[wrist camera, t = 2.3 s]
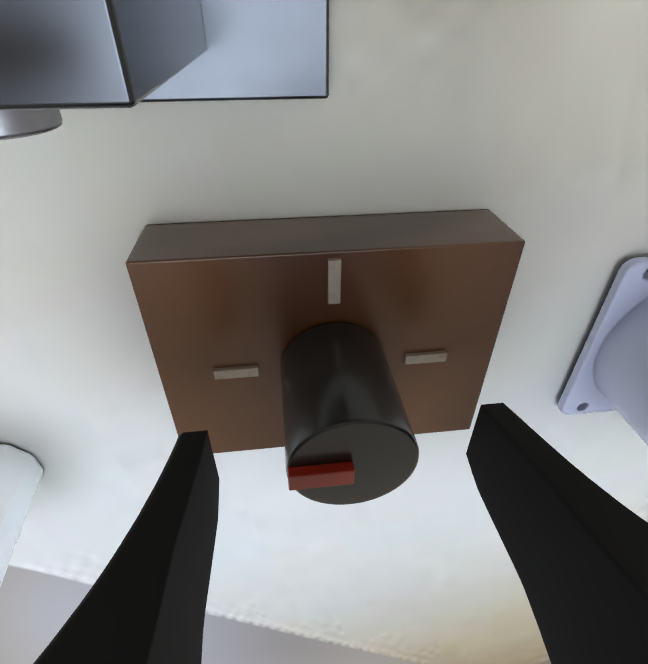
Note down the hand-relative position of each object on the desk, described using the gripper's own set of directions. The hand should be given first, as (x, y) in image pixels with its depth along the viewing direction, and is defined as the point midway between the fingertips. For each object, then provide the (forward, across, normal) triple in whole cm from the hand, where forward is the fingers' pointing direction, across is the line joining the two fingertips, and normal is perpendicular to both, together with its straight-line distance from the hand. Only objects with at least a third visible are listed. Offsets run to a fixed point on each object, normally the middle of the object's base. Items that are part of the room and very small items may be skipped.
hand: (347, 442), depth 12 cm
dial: (+3, 0, 0) cm, 3 cm away
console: (+6, 0, 0) cm, 6 cm away
